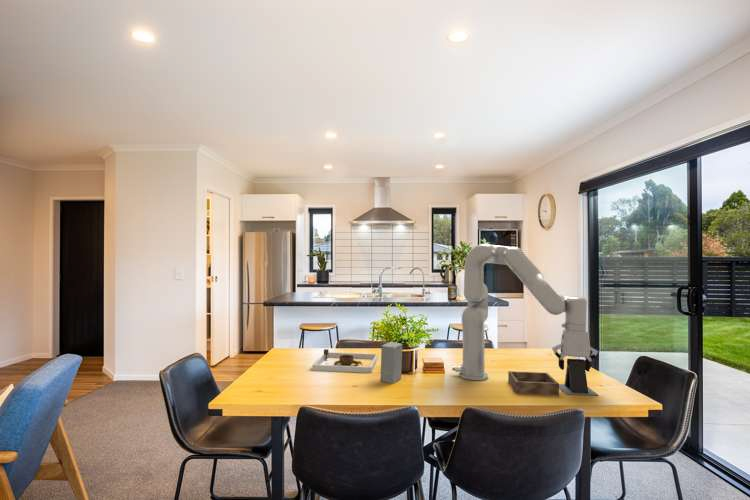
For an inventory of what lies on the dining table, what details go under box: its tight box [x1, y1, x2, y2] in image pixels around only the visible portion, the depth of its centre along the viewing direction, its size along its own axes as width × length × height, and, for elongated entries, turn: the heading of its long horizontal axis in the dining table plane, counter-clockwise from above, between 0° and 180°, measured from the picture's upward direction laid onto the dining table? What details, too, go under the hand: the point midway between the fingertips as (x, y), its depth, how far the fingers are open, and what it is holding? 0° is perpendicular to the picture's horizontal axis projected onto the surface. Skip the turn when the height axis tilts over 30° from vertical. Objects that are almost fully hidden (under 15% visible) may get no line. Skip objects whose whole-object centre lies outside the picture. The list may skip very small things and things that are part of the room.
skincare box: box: [380, 341, 403, 385], centre depth 172 cm, size 8×7×16 cm
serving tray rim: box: [312, 351, 379, 374], centre depth 197 cm, size 28×26×2 cm
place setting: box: [323, 348, 363, 366], centre depth 200 cm, size 18×20×6 cm
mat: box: [559, 383, 599, 397], centre depth 161 cm, size 12×12×1 cm
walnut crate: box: [507, 370, 560, 396], centre depth 163 cm, size 16×15×4 cm
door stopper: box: [564, 358, 589, 393], centre depth 161 cm, size 9×6×12 cm, turn 172°
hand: (574, 369), depth 161 cm, fingers open, 9 cm apart
